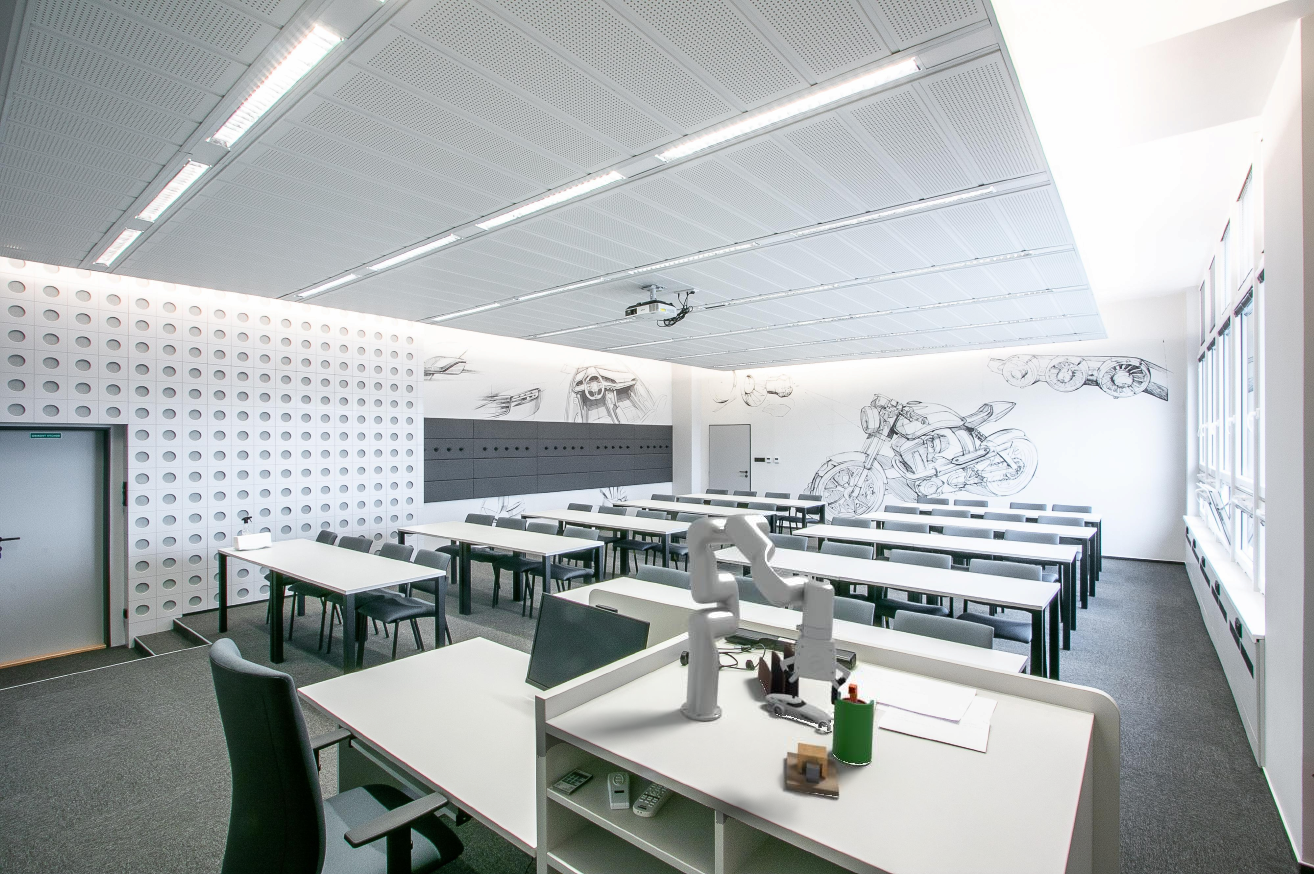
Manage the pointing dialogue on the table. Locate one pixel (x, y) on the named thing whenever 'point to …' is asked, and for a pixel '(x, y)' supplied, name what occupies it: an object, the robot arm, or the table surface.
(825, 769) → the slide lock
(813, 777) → the rail
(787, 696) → the car model
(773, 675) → the letter holder
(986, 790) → the table surface
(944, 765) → the table surface
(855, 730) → the motor
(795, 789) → the rail base
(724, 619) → the robot arm
